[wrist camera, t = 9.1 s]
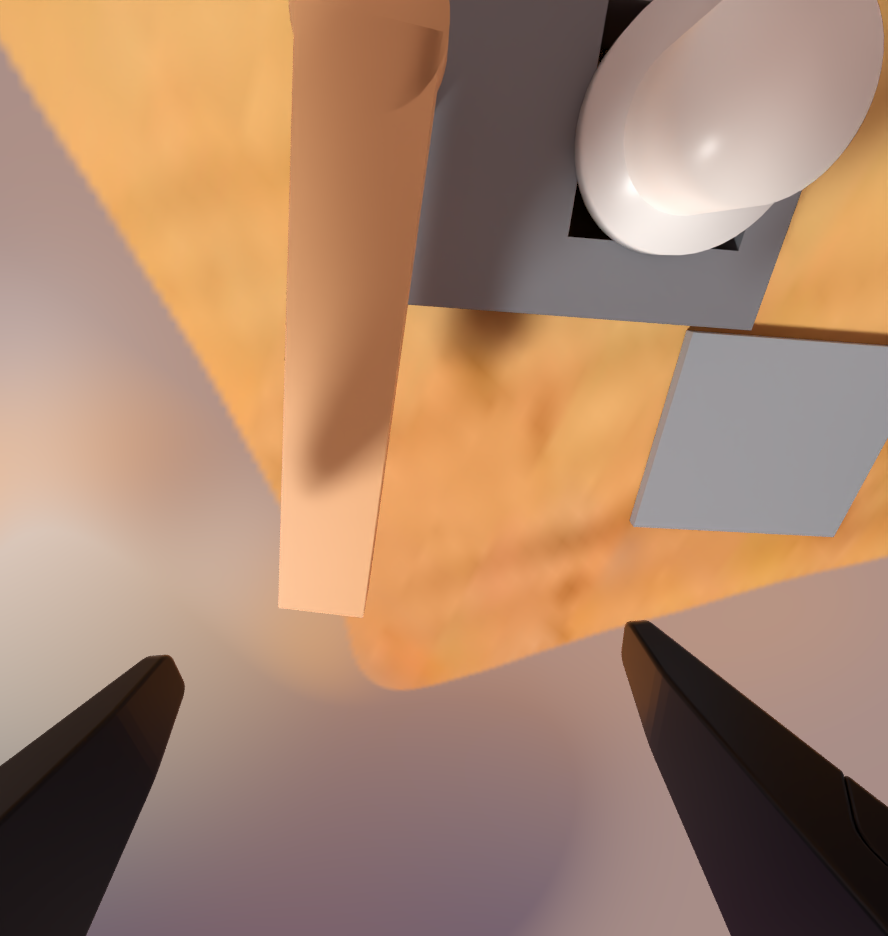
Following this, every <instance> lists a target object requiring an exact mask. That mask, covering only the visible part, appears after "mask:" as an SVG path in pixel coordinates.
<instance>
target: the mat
mask: <svg viewBox="0 0 888 936" xmlns="http://www.w3.org/2000/svg"><path fill="white" fill-rule="evenodd" d="M887 438H888V345H876V344H863V343H850V342H836V341H823V340H809V339H796V338H783V337H769V336H756V335H742V334H729V333H716V332H702V331H689V330H687V331H686V334H685V338H684V341H683V344H682V348H681V351H680V354H679V358H678V361H677V364H676V368H675V371H674V374H673V378H672V381H671V384H670V388H669V391H668V394H667V398H666V401H665V404H664V408H663V411H662V414H661V418H660V421H659V424H658V428H657V431H656V434H655V438H654V441H653V444H652V448H651V451H650V455H649V458H648V461H647V465H646V468H645V471H644V475H643V478H642V481H641V485H640V488H639V491H638V495H637V498H636V501H635V505H634V508H633V511H632V515H631V518H630V522H631V524H632V525H633V526H634V527H650V528H669V529H688V530H708V531H727V532H746V533H766V534H785V535H804V536H823V537H834V536H835V534H836V532H837V530H838V528H839V526H840V525H841V523H842V521H843V519H844V517H845V515H846V513H847V512H848V510H849V508H850V506H851V504H852V502H853V501H854V499H855V497H856V495H857V493H858V491H859V490H860V488H861V486H862V484H863V482H864V480H865V479H866V477H867V475H868V473H869V471H870V469H871V468H872V466H873V464H874V462H875V460H876V458H877V457H878V455H879V453H880V451H881V449H882V447H883V446H884V444H885V442H886V440H887Z"/></svg>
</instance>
